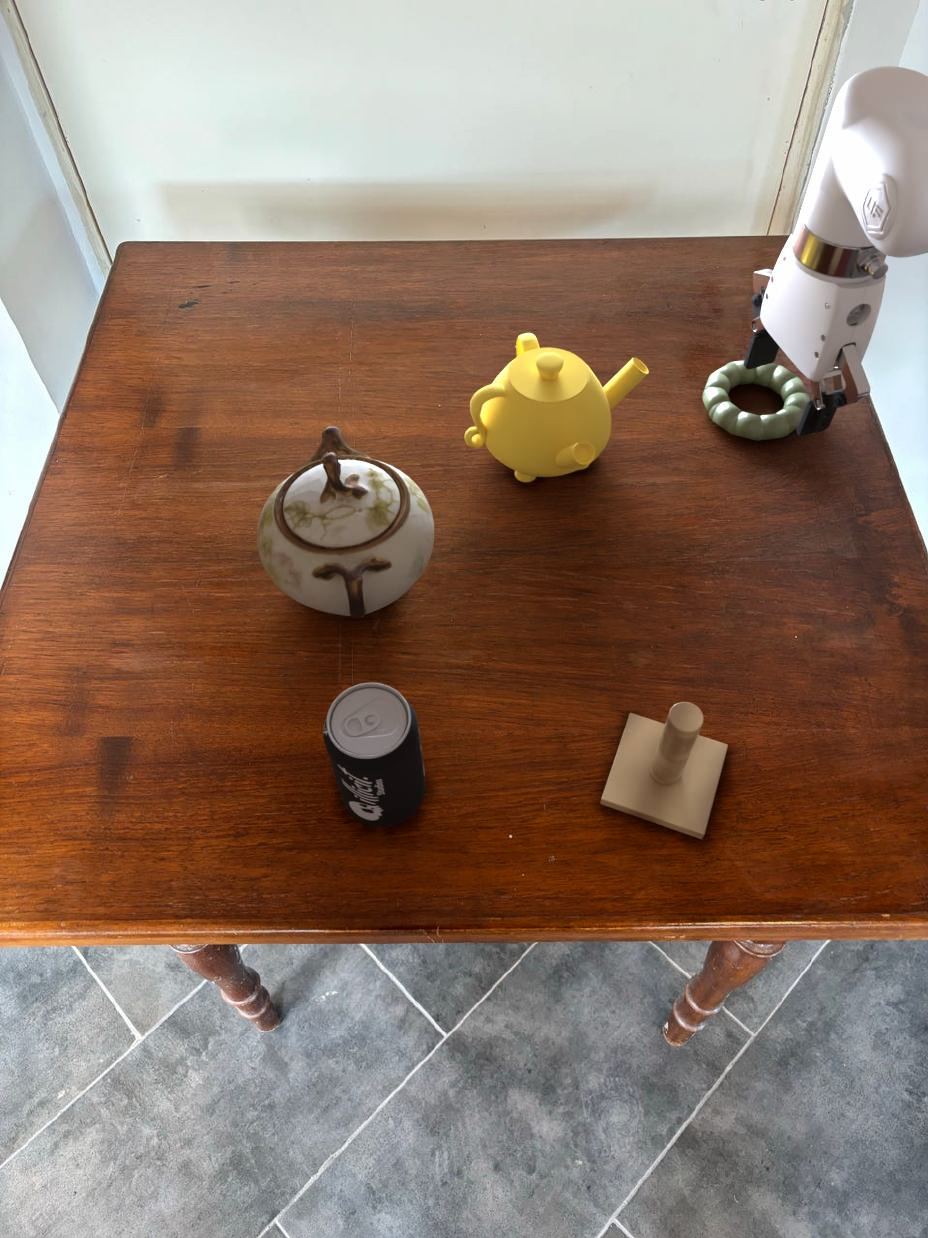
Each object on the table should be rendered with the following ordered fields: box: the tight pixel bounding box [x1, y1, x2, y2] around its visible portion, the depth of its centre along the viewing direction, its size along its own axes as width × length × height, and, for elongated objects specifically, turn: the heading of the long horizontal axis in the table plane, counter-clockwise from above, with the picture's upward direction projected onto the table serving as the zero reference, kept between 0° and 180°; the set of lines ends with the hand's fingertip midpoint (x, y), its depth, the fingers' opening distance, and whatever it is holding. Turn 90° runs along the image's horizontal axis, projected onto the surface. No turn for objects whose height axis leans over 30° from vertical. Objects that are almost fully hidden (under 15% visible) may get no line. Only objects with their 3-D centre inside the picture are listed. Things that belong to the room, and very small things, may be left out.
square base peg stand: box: [599, 701, 729, 840], centre depth 70 cm, size 8×8×10 cm
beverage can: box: [322, 682, 427, 828], centre depth 69 cm, size 7×7×12 cm
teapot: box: [464, 332, 650, 483], centre depth 89 cm, size 14×14×11 cm
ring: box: [702, 359, 811, 442], centre depth 95 cm, size 10×10×2 cm
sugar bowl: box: [256, 425, 435, 619], centre depth 79 cm, size 20×15×15 cm
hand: (784, 396), depth 91 cm, fingers open, 9 cm apart
